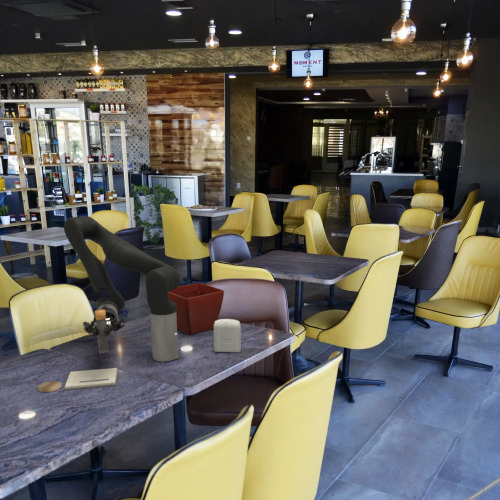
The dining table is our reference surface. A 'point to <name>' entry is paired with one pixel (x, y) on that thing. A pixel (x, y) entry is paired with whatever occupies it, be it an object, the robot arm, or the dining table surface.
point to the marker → (101, 330)
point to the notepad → (91, 379)
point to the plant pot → (196, 307)
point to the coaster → (50, 386)
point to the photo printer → (227, 335)
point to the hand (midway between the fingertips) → (101, 333)
